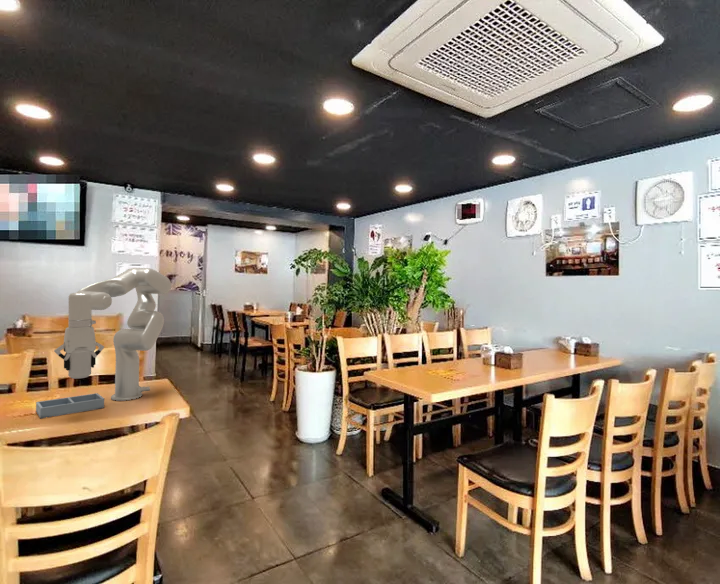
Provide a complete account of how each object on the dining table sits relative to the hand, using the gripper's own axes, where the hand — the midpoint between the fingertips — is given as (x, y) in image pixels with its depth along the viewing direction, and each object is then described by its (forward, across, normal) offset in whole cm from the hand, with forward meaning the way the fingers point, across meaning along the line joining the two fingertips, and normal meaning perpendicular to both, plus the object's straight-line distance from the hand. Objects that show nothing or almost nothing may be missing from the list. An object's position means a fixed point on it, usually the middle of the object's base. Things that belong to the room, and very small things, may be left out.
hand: (79, 368), depth 161 cm
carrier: (+19, +1, -11) cm, 22 cm away
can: (+4, 0, 0) cm, 4 cm away
